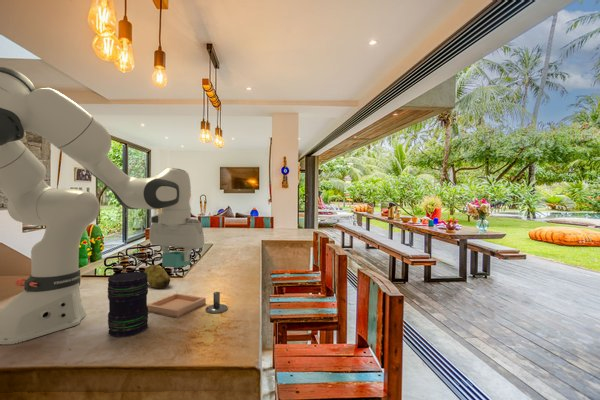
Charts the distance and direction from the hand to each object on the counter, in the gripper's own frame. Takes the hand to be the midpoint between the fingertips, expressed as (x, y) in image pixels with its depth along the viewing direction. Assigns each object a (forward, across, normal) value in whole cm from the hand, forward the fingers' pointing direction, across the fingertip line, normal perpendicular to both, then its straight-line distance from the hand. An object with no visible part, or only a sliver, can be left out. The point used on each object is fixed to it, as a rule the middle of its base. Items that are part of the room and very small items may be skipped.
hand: (176, 260), depth 104 cm
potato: (+16, +25, -15) cm, 33 cm away
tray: (+16, 0, 0) cm, 16 cm away
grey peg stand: (+16, -13, -4) cm, 21 cm away
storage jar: (+16, 0, +18) cm, 24 cm away
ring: (+2, 0, 0) cm, 2 cm away
